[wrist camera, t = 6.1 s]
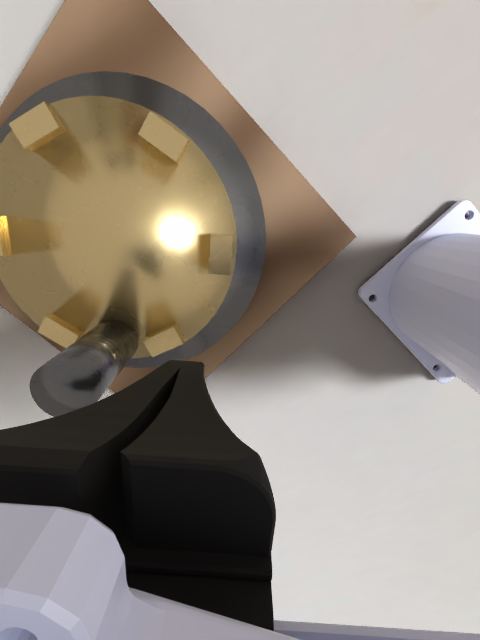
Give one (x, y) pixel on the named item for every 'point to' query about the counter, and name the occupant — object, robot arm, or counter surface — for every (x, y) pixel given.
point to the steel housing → (224, 161)
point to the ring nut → (109, 239)
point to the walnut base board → (257, 148)
